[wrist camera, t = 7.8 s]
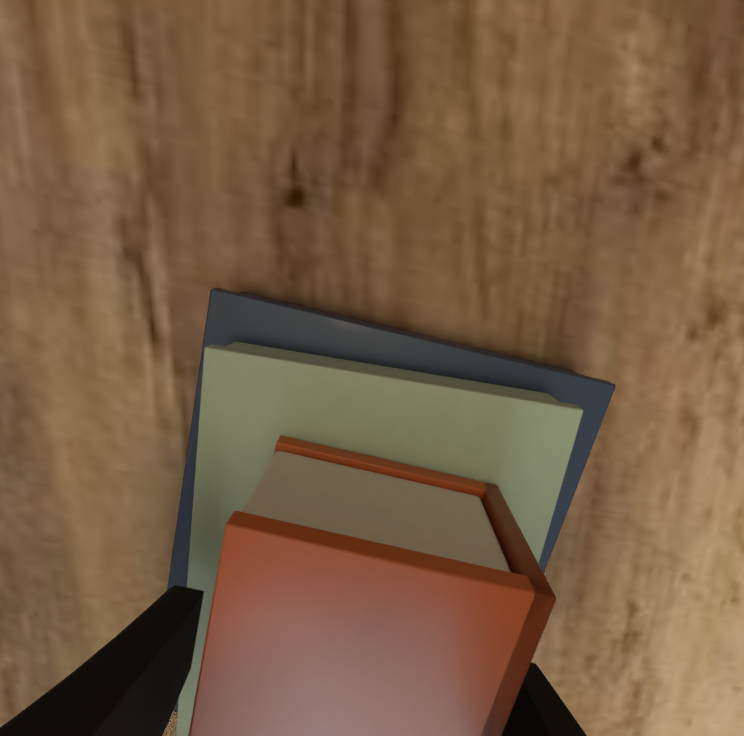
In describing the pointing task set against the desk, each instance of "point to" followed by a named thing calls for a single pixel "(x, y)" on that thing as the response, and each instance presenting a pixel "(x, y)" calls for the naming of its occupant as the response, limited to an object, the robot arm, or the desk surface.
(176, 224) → the desk surface
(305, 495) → the book
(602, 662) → the desk surface
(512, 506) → the box stack
